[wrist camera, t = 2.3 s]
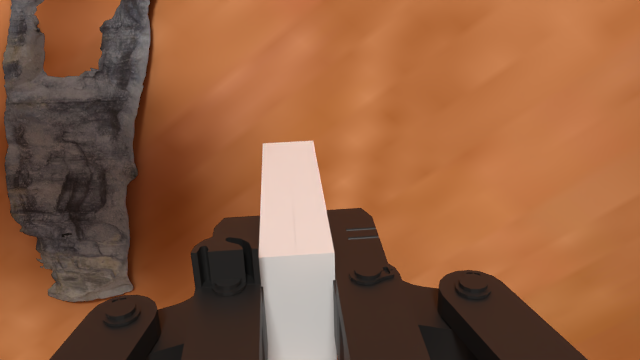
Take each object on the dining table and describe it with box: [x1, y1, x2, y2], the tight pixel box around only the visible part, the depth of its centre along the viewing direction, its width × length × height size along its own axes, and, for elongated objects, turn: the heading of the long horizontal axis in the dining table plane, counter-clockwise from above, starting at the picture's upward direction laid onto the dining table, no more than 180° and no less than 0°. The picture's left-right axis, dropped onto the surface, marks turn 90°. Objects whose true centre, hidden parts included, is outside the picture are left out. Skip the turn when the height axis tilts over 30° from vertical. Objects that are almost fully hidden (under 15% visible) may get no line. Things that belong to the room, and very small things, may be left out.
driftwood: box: [2, 0, 151, 302], centre depth 27 cm, size 21×7×2 cm, turn 168°
